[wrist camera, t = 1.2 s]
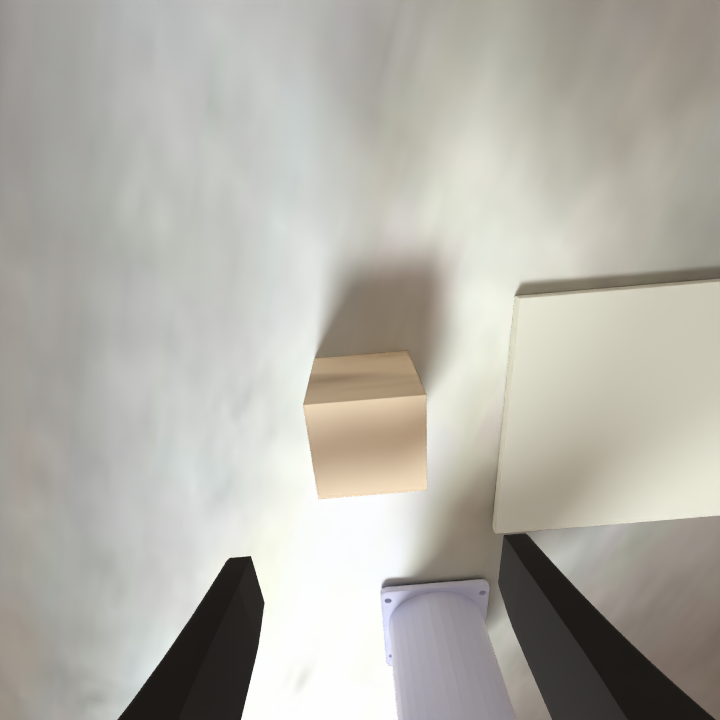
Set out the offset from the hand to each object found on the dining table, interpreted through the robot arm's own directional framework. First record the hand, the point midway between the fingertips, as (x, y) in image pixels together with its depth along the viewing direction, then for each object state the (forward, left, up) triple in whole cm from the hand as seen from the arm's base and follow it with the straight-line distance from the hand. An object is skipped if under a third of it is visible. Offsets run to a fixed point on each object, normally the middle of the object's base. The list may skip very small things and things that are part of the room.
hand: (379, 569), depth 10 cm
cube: (0, 0, -10) cm, 10 cm away
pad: (-3, -16, -10) cm, 19 cm away
